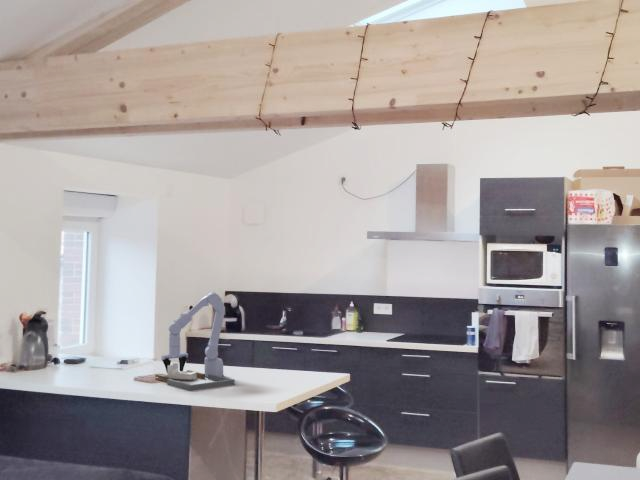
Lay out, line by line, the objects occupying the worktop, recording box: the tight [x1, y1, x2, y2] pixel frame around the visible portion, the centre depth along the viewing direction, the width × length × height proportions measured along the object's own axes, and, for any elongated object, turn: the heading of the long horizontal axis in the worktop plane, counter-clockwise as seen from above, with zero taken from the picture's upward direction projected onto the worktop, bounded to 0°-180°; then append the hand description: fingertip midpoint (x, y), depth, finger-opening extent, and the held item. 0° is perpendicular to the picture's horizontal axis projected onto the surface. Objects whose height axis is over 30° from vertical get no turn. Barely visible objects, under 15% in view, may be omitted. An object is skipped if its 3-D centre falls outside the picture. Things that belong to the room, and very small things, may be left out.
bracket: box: [166, 363, 198, 381], centre depth 393 cm, size 13×7×8 cm, turn 75°
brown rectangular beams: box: [154, 369, 206, 383], centre depth 394 cm, size 20×16×2 cm
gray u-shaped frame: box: [166, 374, 236, 392], centre depth 379 cm, size 25×22×2 cm
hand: (174, 372), depth 399 cm, fingers open, 7 cm apart
